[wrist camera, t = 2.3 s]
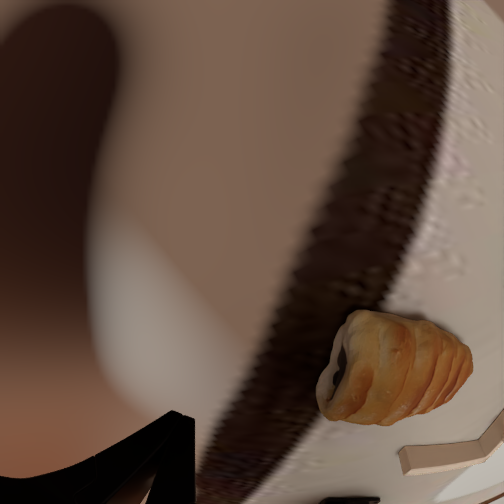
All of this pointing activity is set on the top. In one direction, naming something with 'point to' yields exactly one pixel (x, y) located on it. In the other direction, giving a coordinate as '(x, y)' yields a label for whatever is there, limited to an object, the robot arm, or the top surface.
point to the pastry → (390, 369)
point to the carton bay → (452, 452)
